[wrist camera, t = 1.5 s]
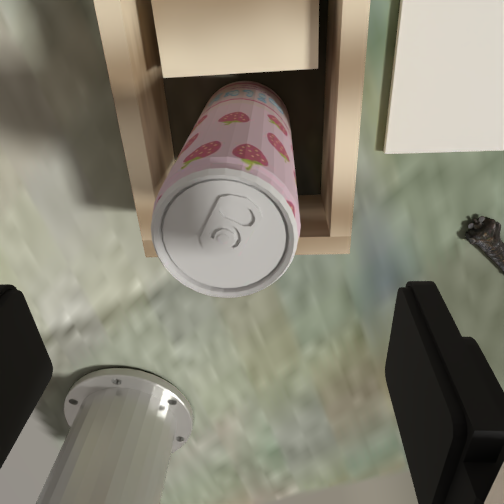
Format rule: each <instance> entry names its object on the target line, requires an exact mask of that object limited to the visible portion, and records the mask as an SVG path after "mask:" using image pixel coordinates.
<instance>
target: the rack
mask: <svg viewBox="0 0 504 504" xmlns="http://www.w3.org/2000/svg"><path fill="white" fill-rule="evenodd" d="M93 1H94V5H95V10H96V15H97V20H98V25H99V30H100V35H101V40H102V45H103V50H104V55H105V59H106V64H107V69H108V74H109V79H110V84H111V89H112V94H113V99H114V104H115V108H116V113H117V118H118V123H119V128H120V133H121V138H122V143H123V148H124V153H125V158H126V162H127V167H128V172H129V177H130V182H131V187H132V192H133V197H134V202H135V207H136V211H137V216H138V221H139V226H140V231H141V236H142V241H143V246H144V251H145V256H146V257H158V255H157V254H156V251H155V248H154V245H153V242H152V235H151V222H152V214H153V208H154V202H155V200H156V198H157V195H158V193H159V191H160V189H161V187H162V185H163V183H164V181H165V179H166V178H167V176H168V174H169V172H170V170H171V168H172V167H173V165H174V163H175V158H174V151H173V144H172V137H171V130H170V123H169V116H168V109H167V102H166V95H165V88H164V81H163V74H162V67H161V60H160V54H159V47H158V41H157V35H156V28H155V22H154V16H153V9H152V3H151V0H93ZM369 10H370V0H328V23H327V49H326V75H325V101H324V127H323V153H322V179H321V195H298V204H299V214H300V223H301V228H300V236H299V241H298V244H297V249H296V252H295V255H306V254H350V242H351V230H352V218H353V205H354V193H355V181H356V169H357V156H358V144H359V132H360V120H361V108H362V95H363V83H364V71H365V59H366V47H367V34H368V22H369Z"/></svg>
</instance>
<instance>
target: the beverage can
mask: <svg viewBox="0 0 504 504" xmlns="http://www.w3.org/2000/svg"><path fill="white" fill-rule="evenodd" d="M300 228H301V223H300V214H299V204H298V195H297V185H296V175H295V166H294V156H293V146H292V137H291V127H290V119H289V114H288V111H287V108H286V106H285V104H284V103H283V101H282V99H281V98H280V97H279V96H278V95H277V94H276V93H275V92H274V91H273V90H272V89H270V88H269V87H267V86H265V85H263V84H260V83H258V82H253V81H237V82H233V83H230V84H227V85H225V86H224V87H222V88H220V89H219V90H218V91H217V92H215V93H214V94H213V95H212V97H211V98H210V99H209V101H208V102H207V104H206V106H205V108H204V109H203V111H202V113H201V115H200V117H199V119H198V121H197V122H196V124H195V126H194V128H193V130H192V132H191V133H190V135H189V137H188V139H187V141H186V143H185V144H184V146H183V148H182V150H181V152H180V154H179V156H178V157H177V159H176V161H175V163H174V165H173V167H172V168H171V170H170V172H169V174H168V176H167V178H166V179H165V181H164V183H163V185H162V187H161V189H160V191H159V193H158V195H157V198H156V200H155V202H154V208H153V214H152V222H151V235H152V242H153V245H154V248H155V251H156V254H157V255H158V257H159V259H160V261H161V262H162V264H163V265H164V267H165V268H166V269H167V270H168V271H169V272H170V273H171V274H172V276H173V277H175V278H176V279H177V280H178V281H180V282H181V283H182V284H184V285H185V286H187V287H189V288H191V289H193V290H195V291H197V292H200V293H203V294H206V295H209V296H216V297H240V296H245V295H250V294H252V293H255V292H258V291H260V290H262V289H264V288H266V287H267V286H269V285H271V284H272V283H274V282H275V281H276V280H277V279H278V278H279V277H281V276H282V275H283V274H284V273H285V271H286V270H287V268H288V267H289V265H290V264H291V262H292V260H293V257H294V255H295V252H296V249H297V244H298V241H299V236H300Z"/></svg>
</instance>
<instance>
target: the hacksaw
mask: <svg viewBox="0 0 504 504" xmlns="http://www.w3.org/2000/svg"><path fill="white" fill-rule="evenodd" d="M473 220H474V221H475V222H474V223H470V224H469V225H468V228H469V229H470V230H469V231H468V232H466V234H465V236H466V238H467V240H469V242H470V244H477V245H478V246H479V247H480V248H481V249H482V250H483V251H484V252H485V253H486V254H487V255H488V256H489V257H490V258H491V259H492V260H493V261H494V262H495V263H496V264H497V265H498V266H499V267H500V268H501V270H502V271H504V243H503V242H502V241H501V239H500V230H501V225H500V223H498V222H495V220H494V219H490V218H486V219H485V217H483V216H481V217H479V219H478V221H477V220H476V218H474V219H473ZM491 243H492V244H491Z"/></svg>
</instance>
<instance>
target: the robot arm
mask: <svg viewBox="0 0 504 504" xmlns="http://www.w3.org/2000/svg"><path fill="white" fill-rule="evenodd" d="M52 373H53V366H52V363H51V360H50V358H49V355H48V353H47V351H46V348H45V346H44V343H43V341H42V338H41V336H40V334H39V331H38V329H37V326H36V324H35V322H34V319H33V317H32V314H31V312H30V310H29V307H28V305H27V302H26V300H25V297H24V295H23V293H22V292H21V291H19V290H17V289H16V287H14V286H13V285H0V468H1V467H2V465H3V463H4V461H5V460H6V458H7V456H8V454H9V453H10V451H11V449H12V447H13V445H14V444H15V442H16V440H17V438H18V436H19V434H20V433H21V431H22V429H23V427H24V426H25V424H26V422H27V420H28V419H29V417H30V415H31V413H32V411H33V410H34V408H35V406H36V404H37V402H38V401H39V399H40V397H41V395H42V393H43V392H44V390H45V388H46V386H47V385H48V383H49V381H50V379H51V377H52ZM385 376H386V382H387V386H388V390H389V393H390V397H391V401H392V405H393V409H394V412H395V416H396V420H397V424H398V428H399V431H400V435H401V439H402V443H403V446H404V450H405V454H406V458H407V462H408V465H409V469H410V473H411V477H412V480H413V484H414V488H415V492H416V496H417V499H418V503H419V504H504V392H503V390H502V388H501V386H500V384H499V382H498V381H497V379H496V377H495V375H494V373H493V371H492V369H491V367H490V366H489V364H488V362H487V360H486V358H485V356H484V354H483V353H482V351H481V349H480V347H479V345H478V344H477V342H476V341H475V339H473V338H472V337H462V336H461V334H460V332H459V330H458V328H457V326H456V324H455V322H454V320H453V318H452V316H451V314H450V312H449V310H448V308H447V306H446V304H445V302H444V300H443V298H442V296H441V294H440V292H439V290H438V288H437V286H436V284H435V283H434V282H433V281H409V282H407V284H406V287H401V288H399V289H398V292H397V298H396V304H395V311H394V317H393V323H392V329H391V335H390V341H389V347H388V353H387V359H386V365H385ZM64 415H65V418H66V420H67V423H68V425H69V426H70V427H71V428H70V430H69V432H68V434H67V437H66V439H65V441H64V443H63V445H62V447H61V450H60V452H59V454H58V456H57V459H56V461H55V463H54V465H53V467H52V469H51V471H50V474H49V476H48V478H47V480H46V482H45V485H44V487H43V489H42V491H41V493H40V495H39V498H38V500H37V502H36V504H160V501H161V496H162V492H163V487H164V482H165V478H166V473H167V469H168V464H169V460H170V455H171V453H173V452H174V451H176V450H178V449H179V448H181V447H182V446H183V445H184V444H185V443H186V442H187V440H188V439H189V437H190V435H191V432H192V427H193V420H194V416H193V410H192V408H191V405H190V403H189V401H188V400H187V399H186V397H185V396H184V395H183V393H181V392H180V391H179V390H178V389H177V388H176V387H175V386H173V385H172V384H170V383H169V382H167V381H166V380H164V379H162V378H160V377H158V376H155V375H153V374H150V373H147V372H144V371H140V370H134V369H128V368H110V369H102V370H98V371H95V372H91V373H89V374H87V375H85V376H83V377H81V378H80V379H79V380H78V381H76V382H75V383H74V385H73V386H72V387H71V389H70V390H69V392H68V394H67V396H66V399H65V403H64Z"/></svg>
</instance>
